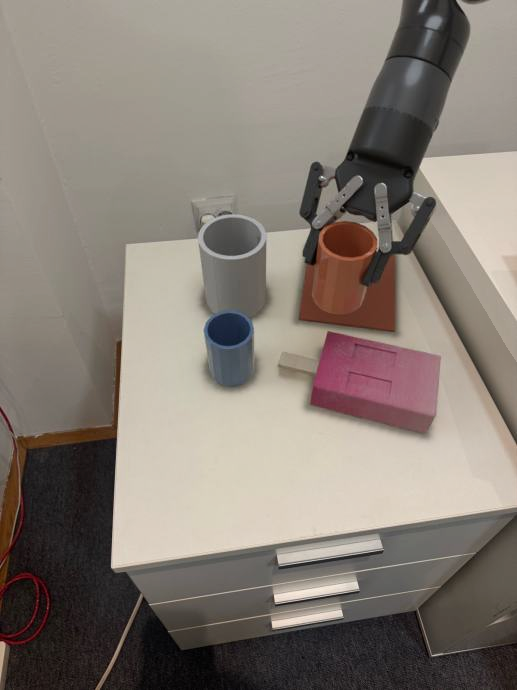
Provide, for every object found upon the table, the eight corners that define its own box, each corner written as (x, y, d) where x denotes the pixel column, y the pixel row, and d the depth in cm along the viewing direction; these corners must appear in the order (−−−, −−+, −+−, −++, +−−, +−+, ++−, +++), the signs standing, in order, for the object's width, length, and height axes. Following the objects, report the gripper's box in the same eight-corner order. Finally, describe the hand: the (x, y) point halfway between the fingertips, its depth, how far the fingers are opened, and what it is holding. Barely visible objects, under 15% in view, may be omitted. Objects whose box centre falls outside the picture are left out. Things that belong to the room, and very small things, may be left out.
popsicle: (270, 395, 64) (425, 434, 60) (270, 375, 60) (436, 415, 57) (287, 342, 69) (430, 375, 66) (289, 320, 65) (441, 354, 62)
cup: (193, 301, 74) (184, 240, 64) (231, 268, 78) (227, 206, 69) (241, 329, 71) (238, 269, 61) (277, 292, 75) (279, 231, 65)
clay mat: (394, 257, 80) (394, 255, 79) (394, 332, 70) (395, 330, 70) (309, 247, 81) (309, 246, 81) (298, 320, 72) (298, 318, 71)
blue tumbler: (257, 353, 68) (257, 313, 61) (249, 389, 64) (248, 351, 58) (215, 347, 69) (210, 307, 62) (205, 383, 65) (198, 345, 58)
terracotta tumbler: (364, 279, 59) (377, 224, 52) (362, 317, 56) (376, 263, 49) (314, 274, 60) (321, 218, 53) (309, 311, 56) (316, 256, 49)
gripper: (326, 88, 48) (268, 249, 52) (471, 125, 44) (397, 298, 47) (340, 116, 55) (288, 256, 59) (466, 150, 51) (402, 299, 54)
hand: (337, 274), depth 53 cm, fingers closed on terracotta tumbler, 6 cm apart
